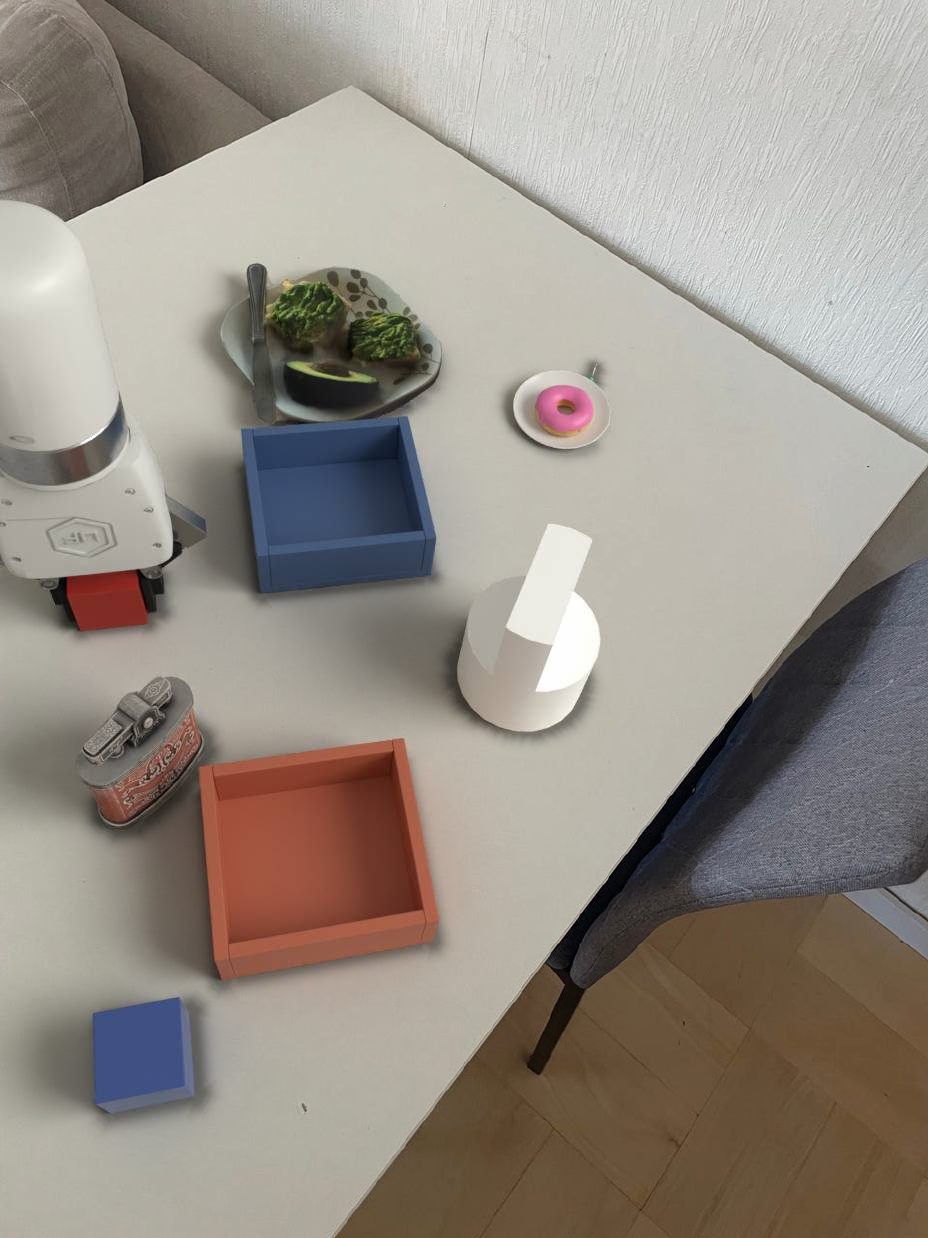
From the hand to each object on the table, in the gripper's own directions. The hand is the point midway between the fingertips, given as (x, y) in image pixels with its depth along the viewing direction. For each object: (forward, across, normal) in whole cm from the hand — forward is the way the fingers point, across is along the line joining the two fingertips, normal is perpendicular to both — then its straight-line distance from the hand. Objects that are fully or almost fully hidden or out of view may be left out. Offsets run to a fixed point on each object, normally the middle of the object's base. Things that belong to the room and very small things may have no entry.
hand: (112, 597), depth 72 cm
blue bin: (0, +16, +5) cm, 17 cm away
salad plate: (+1, +18, +22) cm, 29 cm away
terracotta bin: (0, +12, -22) cm, 24 cm away
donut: (+1, +38, +15) cm, 40 cm away
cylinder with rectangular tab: (+1, +28, -10) cm, 29 cm away
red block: (0, 0, 0) cm, 0 cm away
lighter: (+1, +2, -14) cm, 14 cm away
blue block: (0, +1, -31) cm, 31 cm away
